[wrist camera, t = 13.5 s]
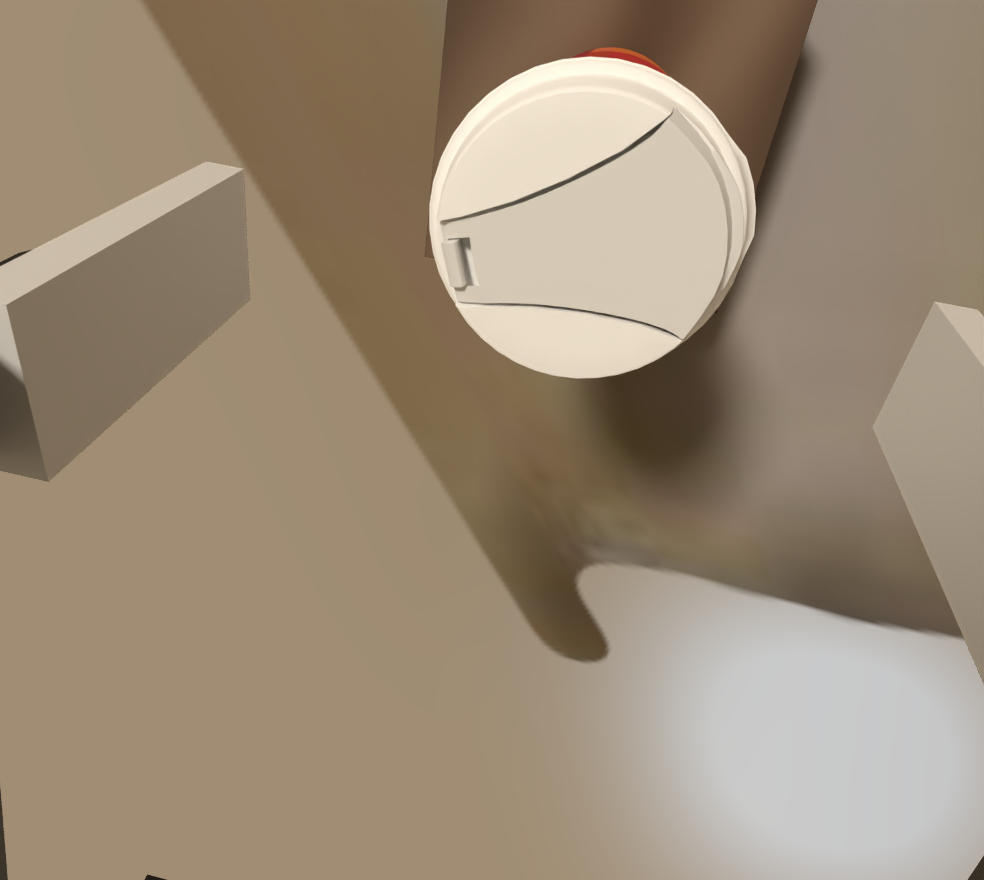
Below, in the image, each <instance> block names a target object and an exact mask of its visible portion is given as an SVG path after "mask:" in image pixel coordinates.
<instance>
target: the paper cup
mask: <svg viewBox="0 0 984 880" xmlns="http://www.w3.org/2000/svg"><path fill="white" fill-rule="evenodd" d="M755 217H756V204H755V194H754V184H753V180H752V176H751V172H750V169H749V165H748V161H747V158H746V156H745V155H744V154H743V153H742V151H741V150H740V149H739V147H738V146H737V145H736V143H735V142H734V141H733V140H732V138H731V137H730V136H729V134H728V133H727V132H726V130H725V129H724V127H723V126H722V124H721V123H720V122H719V120H718V119H717V117H716V116H715V114H714V113H713V112H712V111H711V110H710V109H709V108H708V107H707V106H706V105H705V104H704V103H703V102H702V101H701V100H700V99H699V98H698V97H697V96H696V95H695V94H694V93H693V92H691V91H690V90H689V89H687V88H686V87H684V86H683V85H681V84H680V83H678V82H677V81H675V80H674V79H673V78H671V77H669V76H668V75H667V74H666V73H665V71H664V70H663V69H661V68H660V67H659V66H658V65H657V64H656V63H655V62H653V61H652V60H650V59H649V58H647V57H646V56H644V55H642V54H640V53H637V52H635V51H631V50H628V49H623V48H615V47H607V48H597V49H593V50H589V51H586V52H583V53H581V54H578V55H576V56H574V57H572V58H569V59H561V60H557V61H554V62H550V63H547V64H543V65H539V66H536V67H534V68H531V69H529V70H527V71H525V72H523V73H521V74H519V75H516V76H514V77H512V78H510V79H509V80H507V81H506V82H504V83H503V84H502V85H500V86H499V87H497V88H496V89H494V90H493V91H491V92H490V93H489V94H487V95H486V96H485V97H484V98H483V99H482V100H481V101H480V102H479V103H478V104H477V105H476V106H475V107H474V108H473V109H472V110H471V111H470V112H469V113H468V114H467V116H466V117H465V118H464V120H463V121H462V122H461V124H460V125H459V126H458V128H457V129H456V130H455V132H454V133H453V135H452V137H451V139H450V141H449V143H448V145H447V146H446V148H445V150H444V152H443V154H442V156H441V159H440V162H439V165H438V168H437V171H436V174H435V177H434V180H433V186H432V193H431V199H430V208H429V230H430V236H431V243H432V250H433V254H434V258H435V261H436V264H437V267H438V270H439V274H440V276H441V278H442V280H443V282H444V284H445V287H446V289H447V291H448V293H449V295H450V296H451V298H452V299H453V301H454V302H455V304H456V307H457V308H458V310H459V311H460V313H461V314H462V316H463V317H464V319H465V320H466V322H467V323H468V324H469V325H470V326H471V327H472V328H473V330H474V331H475V332H476V333H477V334H478V335H479V336H480V337H481V338H482V339H483V340H484V341H485V342H487V343H488V344H489V345H490V346H492V347H493V348H494V349H495V350H496V351H498V352H499V353H501V354H503V355H504V356H506V357H508V358H509V359H511V360H513V361H514V362H516V363H518V364H521V365H523V366H526V367H528V368H530V369H533V370H535V371H539V372H543V373H546V374H550V375H554V376H560V377H569V378H601V377H607V376H613V375H619V374H622V373H625V372H629V371H632V370H635V369H639V368H641V367H643V366H645V365H647V364H649V363H651V362H653V361H656V360H658V359H659V358H661V357H663V356H664V355H666V354H667V353H669V352H670V351H672V350H673V349H675V348H676V347H677V346H679V345H680V344H681V343H683V342H684V341H686V340H687V339H688V338H689V337H690V336H692V335H693V334H694V333H695V332H696V331H697V330H698V329H699V328H701V327H702V326H703V325H704V324H705V323H706V322H707V320H708V319H709V318H710V317H711V316H712V314H713V313H714V312H715V311H716V310H717V308H718V307H719V306H720V304H721V303H722V301H723V300H724V298H725V296H726V295H727V293H728V291H729V290H730V288H731V286H732V285H733V282H734V280H735V277H736V275H737V273H738V270H739V268H740V265H741V263H742V260H743V258H744V256H745V254H746V252H747V250H748V248H749V246H750V243H751V241H752V239H753V237H754V231H755Z"/></svg>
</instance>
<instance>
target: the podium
mask: <svg viewBox="0 0 984 880" xmlns="http://www.w3.org/2000/svg"><path fill="white" fill-rule="evenodd" d="M817 1H818V0H448V3H447V14H446V26H445V37H444V48H443V59H442V70H441V81H440V92H439V103H438V114H437V125H436V136H435V147H434V158H433V169H432V180H431V191H430V199H431V193H432V186H433V180H434V177H435V174H436V171H437V168H438V165H439V162H440V159H441V156H442V154H443V152H444V150H445V148H446V146H447V145H448V143H449V141H450V139H451V137H452V135H453V133H454V132H455V130H456V129H457V128H458V126H459V125H460V124H461V122H462V121H463V120H464V118H465V117H466V116H467V114H468V113H469V112H470V111H471V110H472V109H473V108H474V107H475V106H476V105H477V104H478V103H479V102H480V101H481V100H482V99H483V98H484V97H485V96H486V95H487V94H489V93H490V92H491V91H493V90H494V89H496V88H497V87H499V86H500V85H502V84H503V83H504V82H506V81H507V80H509V79H510V78H512V77H514V76H516V75H519V74H521V73H523V72H525V71H527V70H529V69H531V68H534V67H536V66H539V65H543V64H547V63H550V62H554V61H557V60H561V59H569V58H572V57H574V56H576V55H578V54H581V53H583V52H586V51H589V50H593V49H597V48H607V47H615V48H623V49H628V50H631V51H635V52H637V53H640V54H642V55H644V56H646V57H647V58H649V59H650V60H652V61H653V62H655V63H656V64H657V65H658V66H659V67H660V68H661V69H663V70H664V71H665V73H666V74H667V75H668V76H669V77H671V78H673V79H674V80H675V81H677V82H678V83H680V84H681V85H683V86H684V87H686V88H687V89H689V90H690V91H691V92H693V93H694V94H695V95H696V96H697V97H698V98H699V99H700V100H701V101H702V102H703V103H704V104H705V105H706V106H707V107H708V108H709V109H710V110H711V111H712V112H713V113H714V114H715V116H716V117H717V119H718V120H719V122H720V123H721V124H722V126H723V127H724V129H725V130H726V132H727V133H728V134H729V136H730V137H731V138H732V140H733V141H734V142H735V143H736V145H737V146H738V147H739V149H740V150H741V151H742V153H743V154H744V155H745V156H746V158H747V161H748V165H749V169H750V172H751V176H752V180H753V184H754V194H755V192H756V189H757V186H758V183H759V180H760V177H761V174H762V171H763V168H764V164H765V161H766V158H767V155H768V152H769V149H770V146H771V143H772V140H773V137H774V134H775V130H776V127H777V124H778V121H779V118H780V115H781V112H782V109H783V106H784V103H785V100H786V96H787V93H788V90H789V87H790V84H791V81H792V78H793V75H794V72H795V69H796V66H797V62H798V59H799V56H800V53H801V50H802V47H803V44H804V41H805V38H806V35H807V32H808V28H809V25H810V22H811V19H812V16H813V13H814V10H815V7H816V4H817ZM429 208H430V202H429ZM425 257H430V258H434V254H433V250H432V243H431V236H430V230H429V214H428V225H427V236H426V247H425ZM717 310H718V308H717ZM717 310H716V311H715V312H714V313H717Z"/></svg>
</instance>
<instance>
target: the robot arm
mask: <svg viewBox="0 0 984 880" xmlns="http://www.w3.org/2000/svg"><path fill="white" fill-rule="evenodd" d="M249 300H250V291H249V269H248V248H247V227H246V206H245V183H244V169H242V168H237V167H231V166H226V165H221V164H215V163H210V162H204V163H203V164H201V165H199V166H197V167H195V168H193V169H191V170H189V171H187V172H185V173H183V174H181V175H179V176H177V177H175V178H173V179H171V180H169V181H167V182H165V183H163V184H161V185H159V186H157V187H155V188H153V189H151V190H149V191H148V192H145V193H144V194H142V195H140V196H138V197H136V198H134V199H132V200H130V201H128V202H126V203H124V204H122V205H120V206H118V207H116V208H114V209H112V210H110V211H108V212H106V213H104V214H102V215H100V216H98V217H96V218H94V219H92V220H90V221H88V222H86V223H85V224H83V225H81V226H79V227H77V228H75V229H73V230H71V231H69V232H67V233H65V234H63V235H61V236H59V237H57V238H55V239H53V240H51V241H49V242H47V243H45V244H43V245H41V246H39V247H37V248H36V249H33V250H29V251H25V252H21V253H18V254H16V255H14V256H12V257H10V258H8V259H6V260H4V261H2V262H0V471H4V472H8V473H13V474H17V475H22V476H26V477H30V478H35V479H39V480H43V481H48V482H49V481H50V480H51V479H52V478H53V477H54V476H55V475H56V474H58V473H59V472H60V471H61V470H62V469H63V468H64V467H65V466H66V465H68V464H69V463H70V462H71V461H72V460H73V459H74V458H75V457H76V456H78V455H79V453H81V452H82V451H83V450H84V449H85V448H86V447H87V446H88V445H90V444H91V443H92V442H93V441H94V440H95V439H96V438H97V437H99V436H100V435H101V434H102V433H103V432H104V431H105V430H106V429H107V428H108V427H110V426H111V425H112V424H113V423H114V422H115V421H116V420H117V419H118V418H120V417H121V416H122V415H123V414H124V413H125V412H126V411H127V410H128V409H130V408H131V407H132V406H133V405H134V404H135V403H136V402H137V401H138V400H140V399H141V398H142V397H143V396H144V395H145V394H146V393H147V392H148V391H149V390H151V389H152V388H153V387H154V386H155V385H156V384H157V383H158V382H159V381H161V380H162V379H163V378H164V377H165V376H166V375H167V374H168V373H169V372H170V371H172V370H173V369H174V368H175V367H176V366H177V365H178V364H179V363H181V362H182V361H183V360H184V359H185V358H186V357H187V356H188V355H189V354H190V353H192V352H193V351H194V350H195V349H196V348H197V347H198V346H199V345H201V344H202V343H203V342H204V341H205V340H206V339H207V338H208V337H209V336H210V335H212V334H213V333H214V332H215V331H216V330H217V329H218V328H219V327H220V326H222V325H223V323H225V322H226V321H227V320H228V319H229V318H230V317H231V316H232V315H234V314H235V313H236V312H237V311H238V310H239V309H240V308H241V307H242V306H244V305H245V304H246V303H247V302H248V301H249ZM872 428H873V430H874V432H875V434H876V437H877V439H878V441H879V444H880V446H881V448H882V451H883V453H884V455H885V457H886V460H887V462H888V464H889V467H890V469H891V471H892V474H893V476H894V478H895V480H896V483H897V485H898V487H899V490H900V492H901V494H902V497H903V499H904V501H905V504H906V506H907V508H908V510H909V513H910V515H911V517H912V520H913V522H914V524H915V527H916V529H917V531H918V533H919V536H920V538H921V540H922V543H923V545H924V547H925V550H926V552H927V554H928V556H929V559H930V561H931V563H932V566H933V568H934V570H935V573H936V575H937V577H938V580H939V582H940V584H941V586H942V589H943V591H944V593H945V596H946V598H947V600H948V603H949V605H950V607H951V609H952V612H953V614H954V616H955V619H956V621H957V623H958V626H959V628H960V630H961V632H962V635H963V637H964V639H965V642H966V644H967V646H968V649H969V651H970V653H971V655H972V658H973V660H974V662H975V665H976V667H977V669H978V672H979V674H980V676H981V678H982V681H983V683H984V317H983V315H982V314H981V313H980V312H979V311H978V310H976V309H970V308H965V307H960V306H955V305H950V304H944V303H939V302H934V304H933V306H932V308H931V310H930V312H929V314H928V316H927V318H926V320H925V322H924V324H923V326H922V328H921V330H920V332H919V334H918V336H917V338H916V340H915V342H914V344H913V346H912V349H911V351H910V353H909V355H908V357H907V359H906V361H905V363H904V365H903V367H902V369H901V371H900V373H899V375H898V377H897V379H896V381H895V383H894V385H893V387H892V389H891V391H890V393H889V395H888V397H887V399H886V401H885V403H884V405H883V407H882V409H881V411H880V413H879V415H878V417H877V419H876V421H875V423H874V425H873V427H872ZM1 804H2V803H1V791H0V880H8V878H7V866H6V853H5V841H4V828H3V816H2V805H1ZM145 880H165V879H162V878H158V877H155V876H151V875H147V876H146V878H145ZM968 880H984V856H983V858H982V859H981V861H980V862H979V864H978V865H977V867H976V868H975V870H974V871H973V873H972V874H971V876H970V877H969V879H968Z"/></svg>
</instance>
